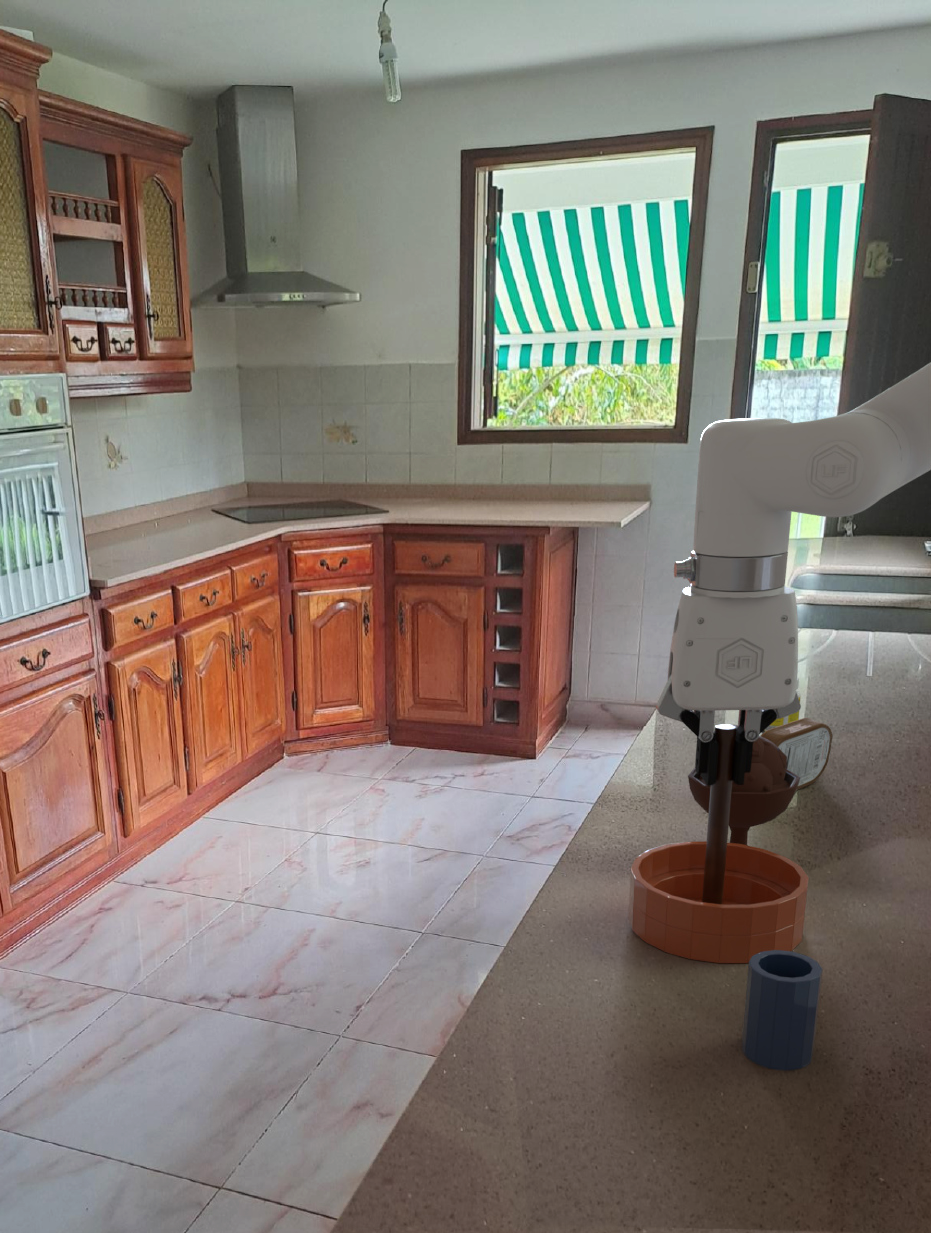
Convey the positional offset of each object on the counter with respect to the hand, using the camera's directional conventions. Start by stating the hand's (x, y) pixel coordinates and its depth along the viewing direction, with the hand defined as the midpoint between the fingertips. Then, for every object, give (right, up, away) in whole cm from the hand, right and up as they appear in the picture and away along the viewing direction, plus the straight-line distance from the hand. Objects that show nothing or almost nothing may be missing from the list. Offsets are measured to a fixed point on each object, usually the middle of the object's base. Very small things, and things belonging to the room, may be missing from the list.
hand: (721, 778), depth 104 cm
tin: (+22, 0, +40) cm, 45 cm away
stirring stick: (+1, -12, +5) cm, 13 cm away
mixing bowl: (+1, -14, +5) cm, 15 cm away
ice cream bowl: (+9, -8, +20) cm, 24 cm away
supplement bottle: (+29, +8, +60) cm, 68 cm away
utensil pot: (-1, -22, -15) cm, 27 cm away
